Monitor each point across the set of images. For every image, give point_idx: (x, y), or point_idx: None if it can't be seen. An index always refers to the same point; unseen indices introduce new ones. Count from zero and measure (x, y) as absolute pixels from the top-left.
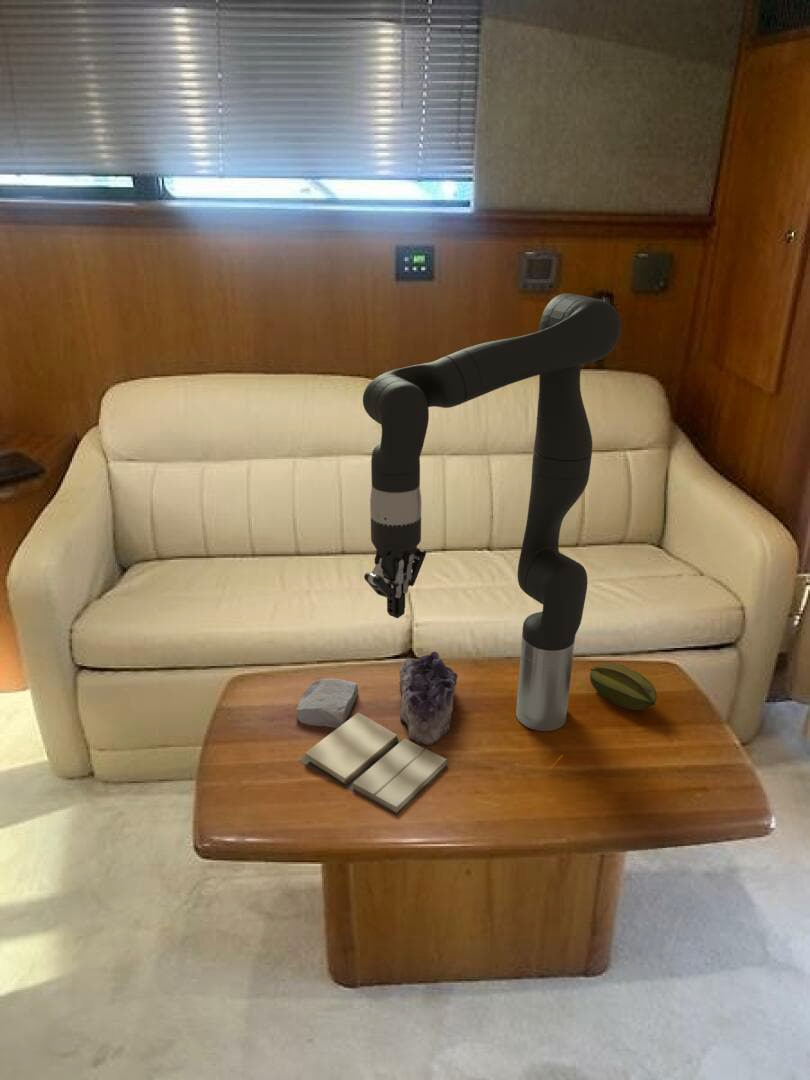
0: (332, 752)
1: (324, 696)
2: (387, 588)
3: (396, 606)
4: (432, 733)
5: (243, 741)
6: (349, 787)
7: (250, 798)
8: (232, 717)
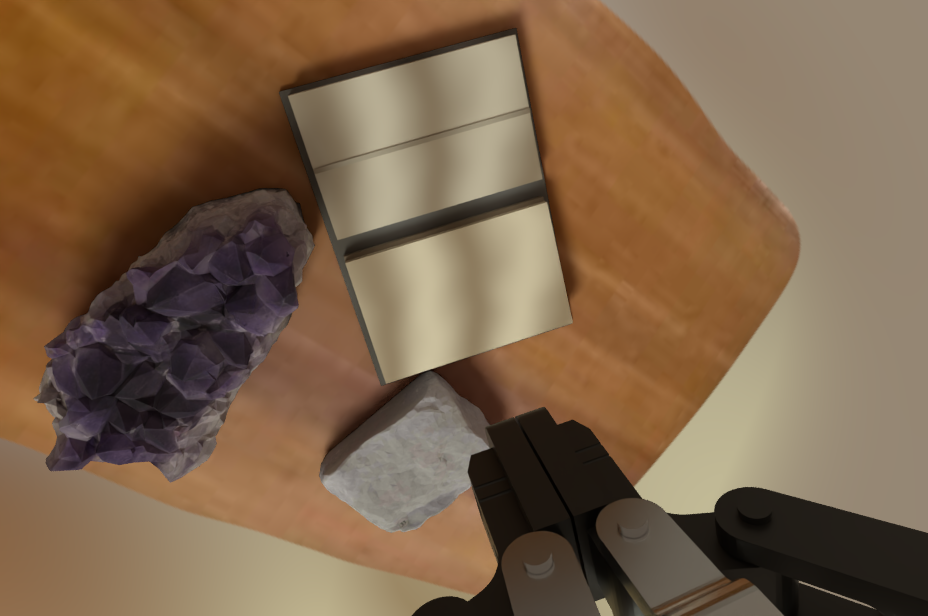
0: (521, 292)
1: (431, 466)
2: (902, 566)
3: (586, 465)
4: (270, 195)
5: (613, 436)
6: (540, 184)
7: (700, 282)
8: None
